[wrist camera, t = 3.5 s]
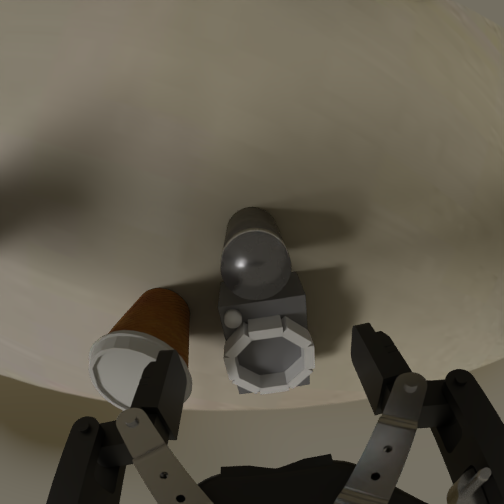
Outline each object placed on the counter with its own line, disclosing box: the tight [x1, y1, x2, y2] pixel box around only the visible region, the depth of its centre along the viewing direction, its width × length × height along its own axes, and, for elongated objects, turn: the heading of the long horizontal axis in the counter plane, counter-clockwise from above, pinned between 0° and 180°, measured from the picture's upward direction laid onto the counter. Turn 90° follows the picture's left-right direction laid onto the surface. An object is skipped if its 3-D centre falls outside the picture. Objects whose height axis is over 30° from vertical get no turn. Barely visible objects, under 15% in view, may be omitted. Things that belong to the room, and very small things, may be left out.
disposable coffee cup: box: [88, 288, 192, 411], centre depth 27 cm, size 10×10×12 cm
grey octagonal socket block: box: [218, 272, 315, 394], centre depth 30 cm, size 12×8×7 cm
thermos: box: [221, 207, 291, 300], centre depth 25 cm, size 5×5×9 cm
